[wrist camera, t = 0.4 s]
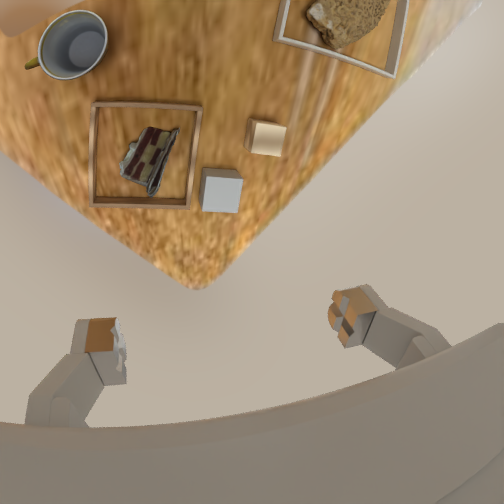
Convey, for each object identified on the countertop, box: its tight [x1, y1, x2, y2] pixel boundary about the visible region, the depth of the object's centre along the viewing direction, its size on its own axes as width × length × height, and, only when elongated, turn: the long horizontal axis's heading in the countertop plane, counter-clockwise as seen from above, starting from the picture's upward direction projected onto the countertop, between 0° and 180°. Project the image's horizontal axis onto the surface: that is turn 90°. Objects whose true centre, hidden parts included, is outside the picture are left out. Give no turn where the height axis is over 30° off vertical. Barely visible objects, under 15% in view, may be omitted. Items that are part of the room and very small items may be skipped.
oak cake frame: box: [89, 101, 203, 210], centre depth 47 cm, size 17×17×3 cm
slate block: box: [199, 168, 243, 213], centre depth 53 cm, size 6×6×5 cm
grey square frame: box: [272, 0, 409, 79], centre depth 40 cm, size 24×24×3 cm
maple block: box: [244, 118, 287, 156], centre depth 50 cm, size 5×5×5 cm
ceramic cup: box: [25, 10, 108, 80], centre depth 32 cm, size 13×10×10 cm
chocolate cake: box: [119, 127, 180, 198], centre depth 48 cm, size 10×7×12 cm
